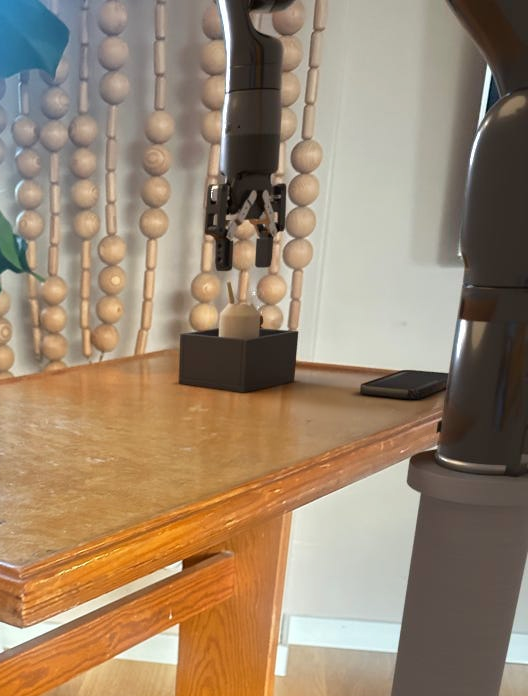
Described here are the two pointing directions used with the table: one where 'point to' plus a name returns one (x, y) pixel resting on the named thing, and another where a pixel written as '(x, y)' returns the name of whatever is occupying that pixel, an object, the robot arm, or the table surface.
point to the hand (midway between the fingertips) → (243, 269)
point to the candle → (239, 321)
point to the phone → (406, 384)
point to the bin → (237, 360)
